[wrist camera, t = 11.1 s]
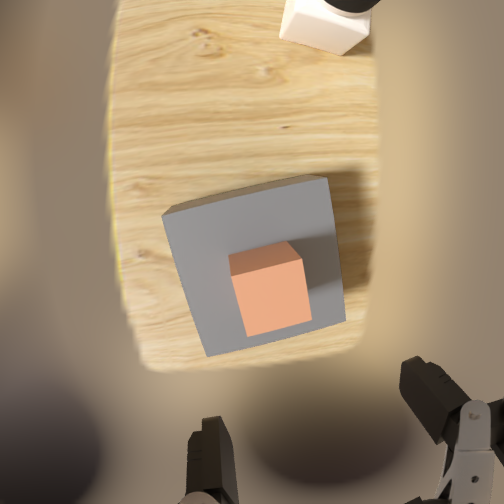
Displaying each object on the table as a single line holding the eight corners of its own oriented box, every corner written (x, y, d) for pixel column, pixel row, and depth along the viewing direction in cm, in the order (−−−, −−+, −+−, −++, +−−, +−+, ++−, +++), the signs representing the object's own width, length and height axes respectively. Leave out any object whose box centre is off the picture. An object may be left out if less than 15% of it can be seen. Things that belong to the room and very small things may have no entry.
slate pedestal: (171, 206, 30) (161, 216, 24) (306, 174, 30) (327, 177, 24) (207, 326, 34) (207, 357, 28) (326, 296, 34) (345, 321, 29)
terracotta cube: (228, 255, 25) (230, 276, 21) (286, 240, 26) (302, 258, 21) (241, 307, 27) (247, 336, 22) (296, 293, 27) (312, 319, 22)
